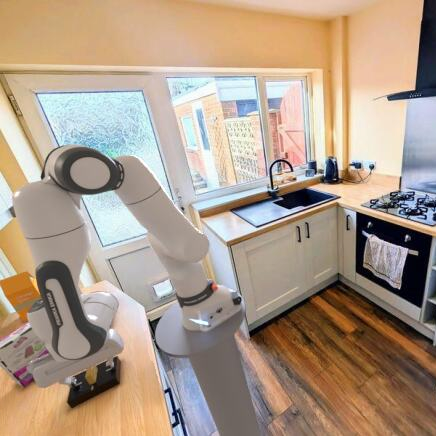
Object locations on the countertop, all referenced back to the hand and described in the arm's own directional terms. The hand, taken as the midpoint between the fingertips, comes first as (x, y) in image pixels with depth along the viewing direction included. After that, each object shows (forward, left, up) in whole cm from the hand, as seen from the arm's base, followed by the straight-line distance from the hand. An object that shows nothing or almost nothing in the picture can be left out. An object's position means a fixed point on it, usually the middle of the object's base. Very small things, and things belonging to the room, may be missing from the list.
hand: (93, 375), depth 75 cm
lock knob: (0, 0, -1) cm, 1 cm away
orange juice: (+28, -58, -4) cm, 65 cm away
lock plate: (0, 0, -4) cm, 4 cm away
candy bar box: (+18, -18, -4) cm, 26 cm away
